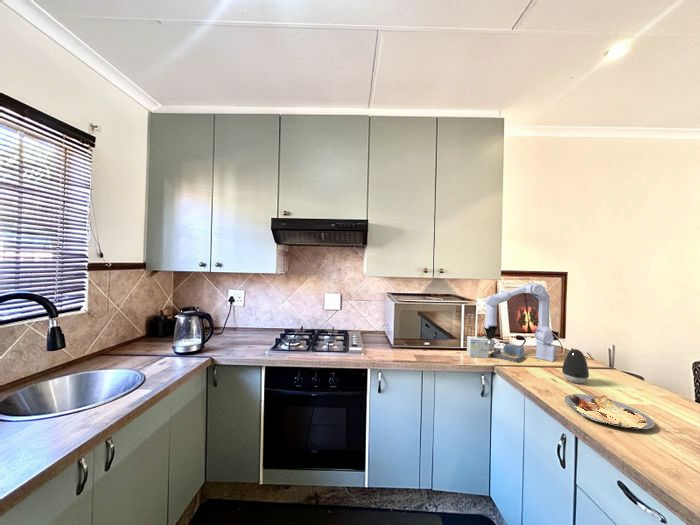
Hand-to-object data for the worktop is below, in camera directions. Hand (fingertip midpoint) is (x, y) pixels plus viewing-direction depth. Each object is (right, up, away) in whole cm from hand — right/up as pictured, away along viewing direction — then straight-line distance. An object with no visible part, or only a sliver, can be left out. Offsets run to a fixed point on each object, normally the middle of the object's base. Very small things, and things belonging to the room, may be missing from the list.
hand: (490, 338), depth 184 cm
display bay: (+8, -10, -4) cm, 13 cm away
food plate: (+10, -11, -71) cm, 72 cm away
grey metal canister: (+5, -10, +11) cm, 16 cm away
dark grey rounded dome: (+22, -11, -39) cm, 46 cm away
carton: (+16, -10, +4) cm, 20 cm away
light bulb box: (-9, -9, -4) cm, 14 cm away
